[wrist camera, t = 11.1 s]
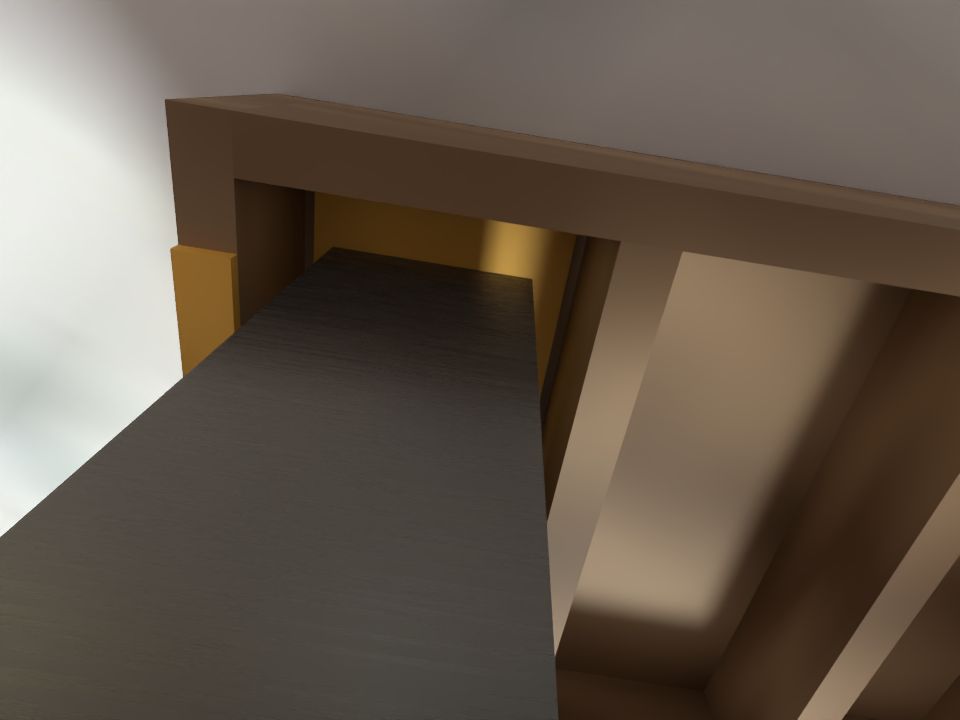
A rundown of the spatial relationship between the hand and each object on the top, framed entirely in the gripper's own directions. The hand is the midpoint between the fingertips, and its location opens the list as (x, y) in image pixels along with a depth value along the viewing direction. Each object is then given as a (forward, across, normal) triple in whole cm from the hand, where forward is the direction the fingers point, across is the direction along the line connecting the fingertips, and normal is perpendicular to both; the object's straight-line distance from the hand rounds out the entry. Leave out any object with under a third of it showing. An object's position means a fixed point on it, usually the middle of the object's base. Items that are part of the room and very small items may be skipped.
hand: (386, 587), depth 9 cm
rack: (+4, -6, 0) cm, 7 cm away
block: (+2, 0, 0) cm, 2 cm away
